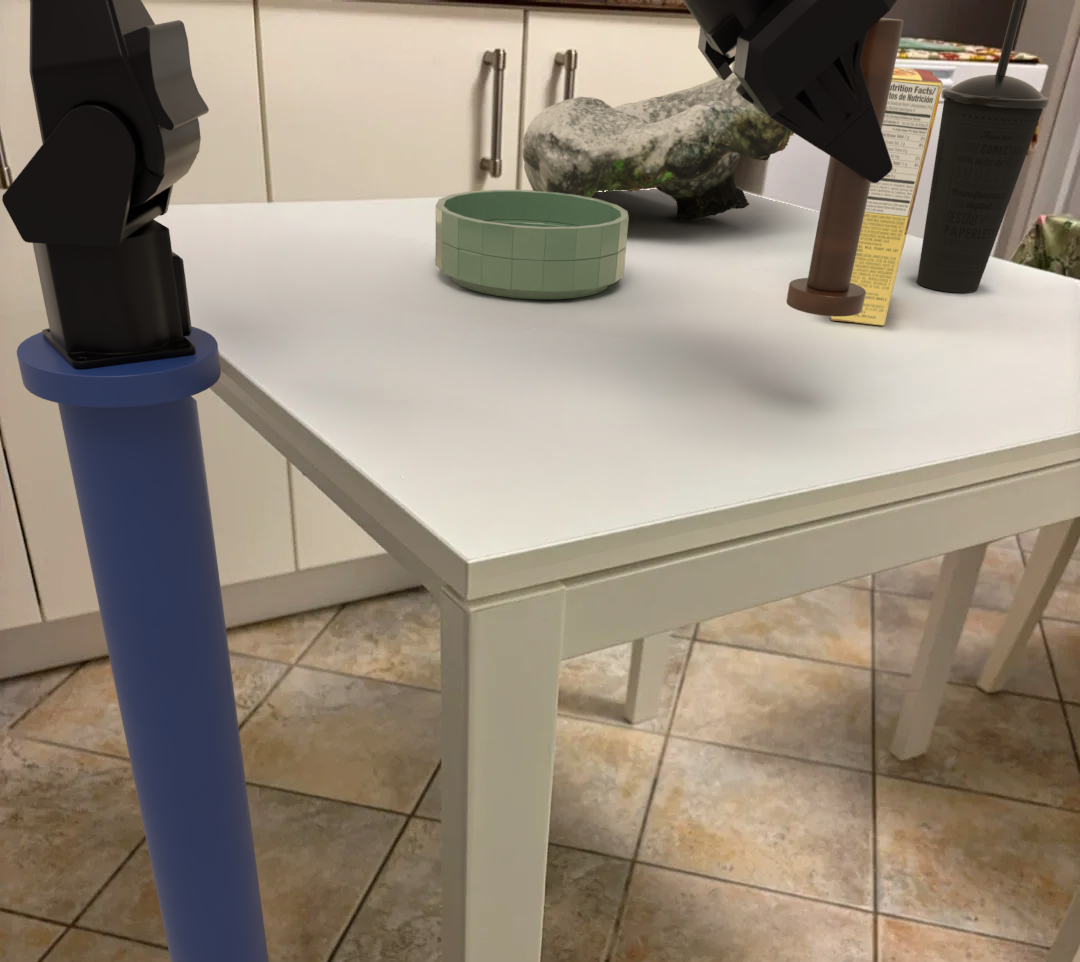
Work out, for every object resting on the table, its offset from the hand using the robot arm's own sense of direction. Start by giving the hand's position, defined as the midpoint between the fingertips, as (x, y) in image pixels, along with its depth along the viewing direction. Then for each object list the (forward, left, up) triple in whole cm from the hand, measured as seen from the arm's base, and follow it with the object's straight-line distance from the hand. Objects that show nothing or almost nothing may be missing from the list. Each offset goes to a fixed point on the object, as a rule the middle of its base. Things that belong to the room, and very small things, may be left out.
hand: (877, 172), depth 55 cm
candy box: (+20, +16, -13) cm, 28 cm away
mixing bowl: (+2, +33, -12) cm, 35 cm away
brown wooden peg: (-1, +1, -7) cm, 7 cm away
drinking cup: (+33, +18, -13) cm, 39 cm away
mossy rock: (+28, +49, -13) cm, 57 cm away
